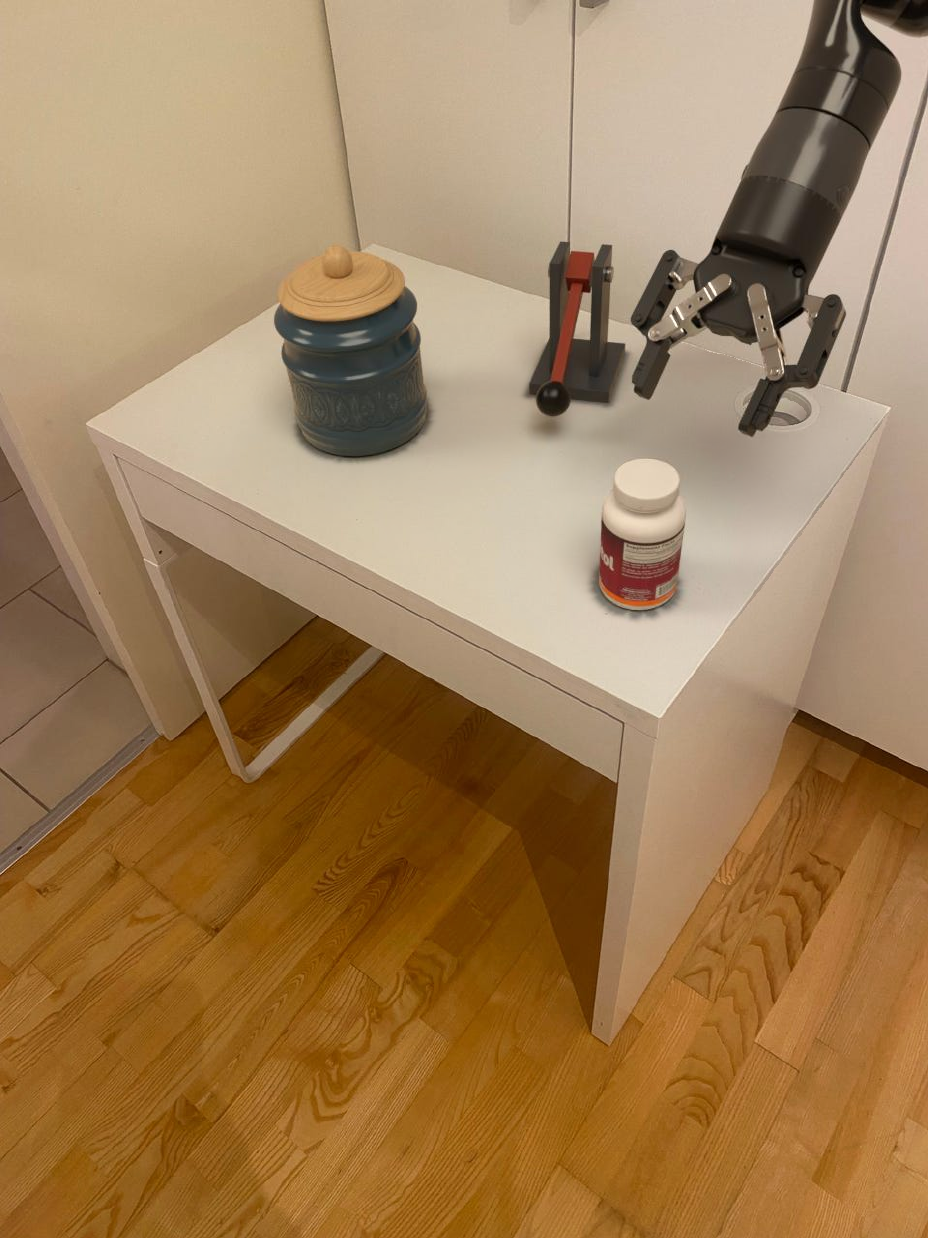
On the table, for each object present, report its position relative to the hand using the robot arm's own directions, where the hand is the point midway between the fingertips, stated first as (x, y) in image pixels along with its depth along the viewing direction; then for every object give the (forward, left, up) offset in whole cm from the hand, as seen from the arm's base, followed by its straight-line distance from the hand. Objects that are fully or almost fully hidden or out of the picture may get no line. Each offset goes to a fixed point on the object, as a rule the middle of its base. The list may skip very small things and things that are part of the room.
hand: (691, 414), depth 70 cm
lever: (+13, -19, -7) cm, 24 cm away
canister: (+32, -12, -13) cm, 37 cm away
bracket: (+13, -24, -13) cm, 30 cm away
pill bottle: (+2, +5, -13) cm, 14 cm away
